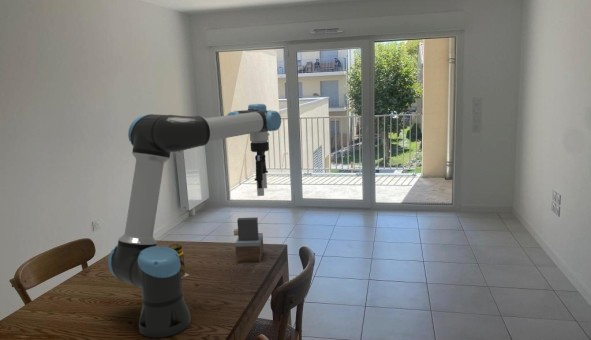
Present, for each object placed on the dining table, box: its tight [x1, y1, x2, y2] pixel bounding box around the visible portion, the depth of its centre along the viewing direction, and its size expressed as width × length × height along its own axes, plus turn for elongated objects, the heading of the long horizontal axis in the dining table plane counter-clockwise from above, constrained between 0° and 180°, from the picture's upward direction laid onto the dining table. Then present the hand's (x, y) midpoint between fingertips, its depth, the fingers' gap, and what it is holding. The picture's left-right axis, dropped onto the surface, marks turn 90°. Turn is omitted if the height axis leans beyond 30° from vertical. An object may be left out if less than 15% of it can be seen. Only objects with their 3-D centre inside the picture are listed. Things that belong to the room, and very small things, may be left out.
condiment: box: [168, 243, 190, 279], centre depth 168 cm, size 7×8×12 cm
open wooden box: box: [235, 236, 264, 264], centre depth 185 cm, size 12×10×7 cm
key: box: [233, 228, 238, 236], centre depth 188 cm, size 2×8×2 cm, turn 88°
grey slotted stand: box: [234, 217, 264, 248], centre depth 184 cm, size 12×10×11 cm
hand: (262, 191), depth 184 cm, fingers open, 12 cm apart
